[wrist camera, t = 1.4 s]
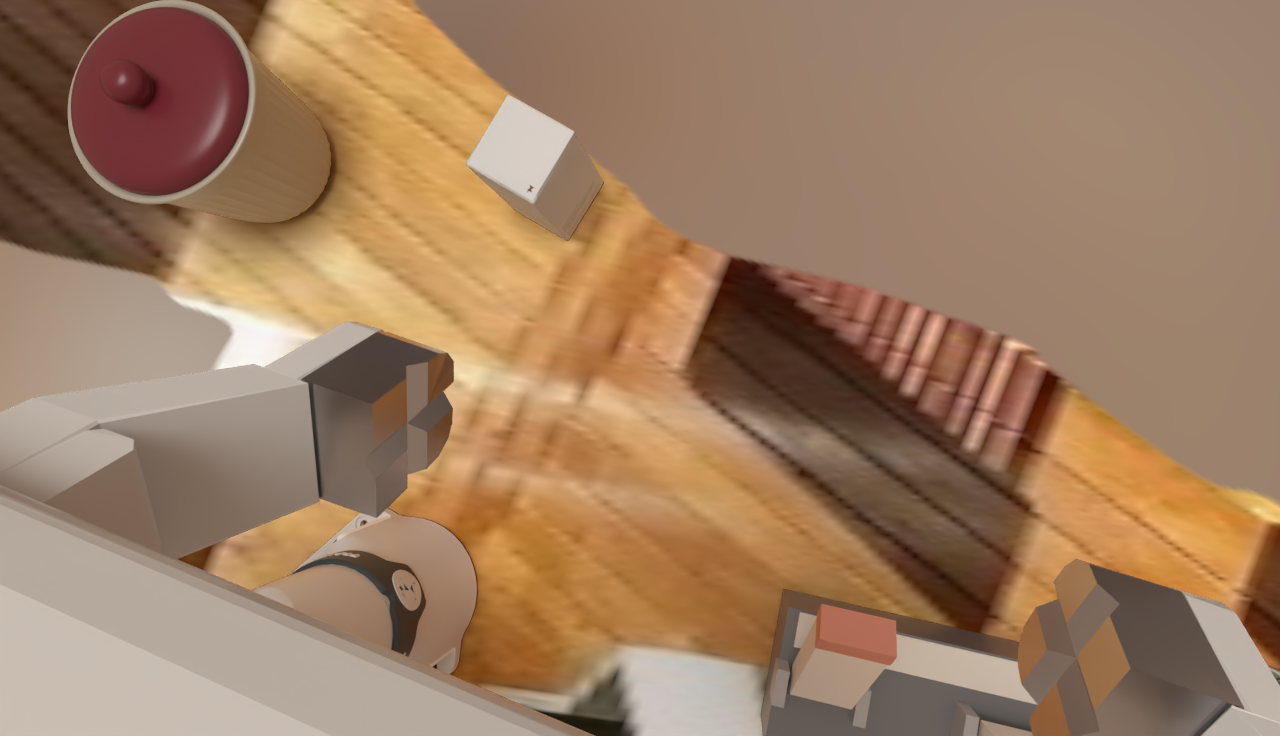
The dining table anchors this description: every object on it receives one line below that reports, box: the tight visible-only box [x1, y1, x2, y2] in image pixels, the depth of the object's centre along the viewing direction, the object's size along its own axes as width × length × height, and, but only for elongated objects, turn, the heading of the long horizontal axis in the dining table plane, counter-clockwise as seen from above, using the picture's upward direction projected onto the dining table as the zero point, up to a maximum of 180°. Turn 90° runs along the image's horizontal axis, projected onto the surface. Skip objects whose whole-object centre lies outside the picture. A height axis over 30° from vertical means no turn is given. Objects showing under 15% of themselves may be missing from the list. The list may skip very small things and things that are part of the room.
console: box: [761, 589, 1038, 736], centre depth 58 cm, size 12×23×8 cm, turn 79°
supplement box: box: [466, 95, 603, 241], centre depth 64 cm, size 7×7×13 cm
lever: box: [787, 604, 897, 710], centre depth 52 cm, size 3×5×14 cm
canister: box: [68, 0, 331, 223], centre depth 64 cm, size 18×18×21 cm
